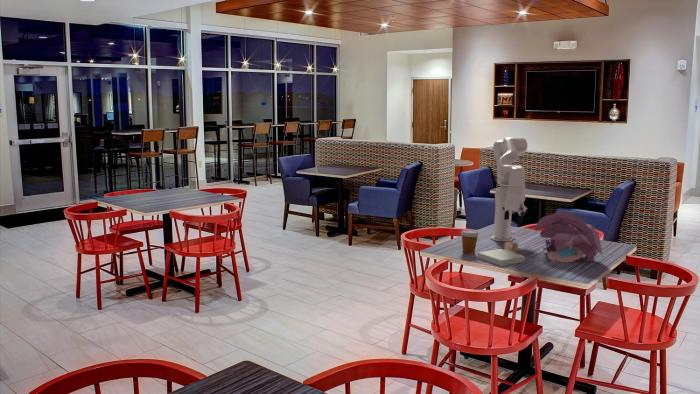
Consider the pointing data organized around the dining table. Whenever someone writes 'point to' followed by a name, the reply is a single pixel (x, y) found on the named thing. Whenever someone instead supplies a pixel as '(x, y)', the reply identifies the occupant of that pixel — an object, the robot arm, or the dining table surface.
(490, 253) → the sage stand
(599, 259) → the dining table surface
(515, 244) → the maple block
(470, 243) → the disposable coffee cup
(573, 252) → the purple clam shell
